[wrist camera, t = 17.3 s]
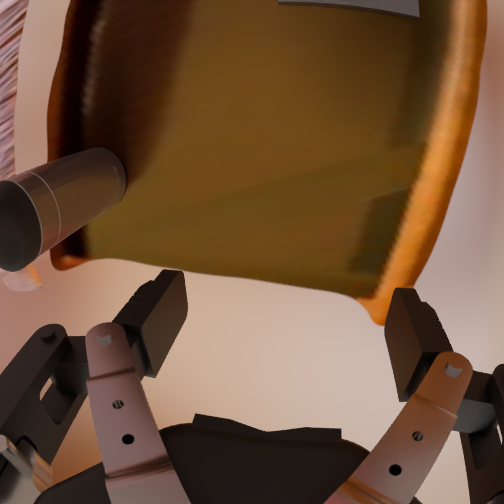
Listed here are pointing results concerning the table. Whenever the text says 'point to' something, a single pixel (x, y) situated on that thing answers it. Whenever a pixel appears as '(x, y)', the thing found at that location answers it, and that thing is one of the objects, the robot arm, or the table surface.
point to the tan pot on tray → (366, 6)
